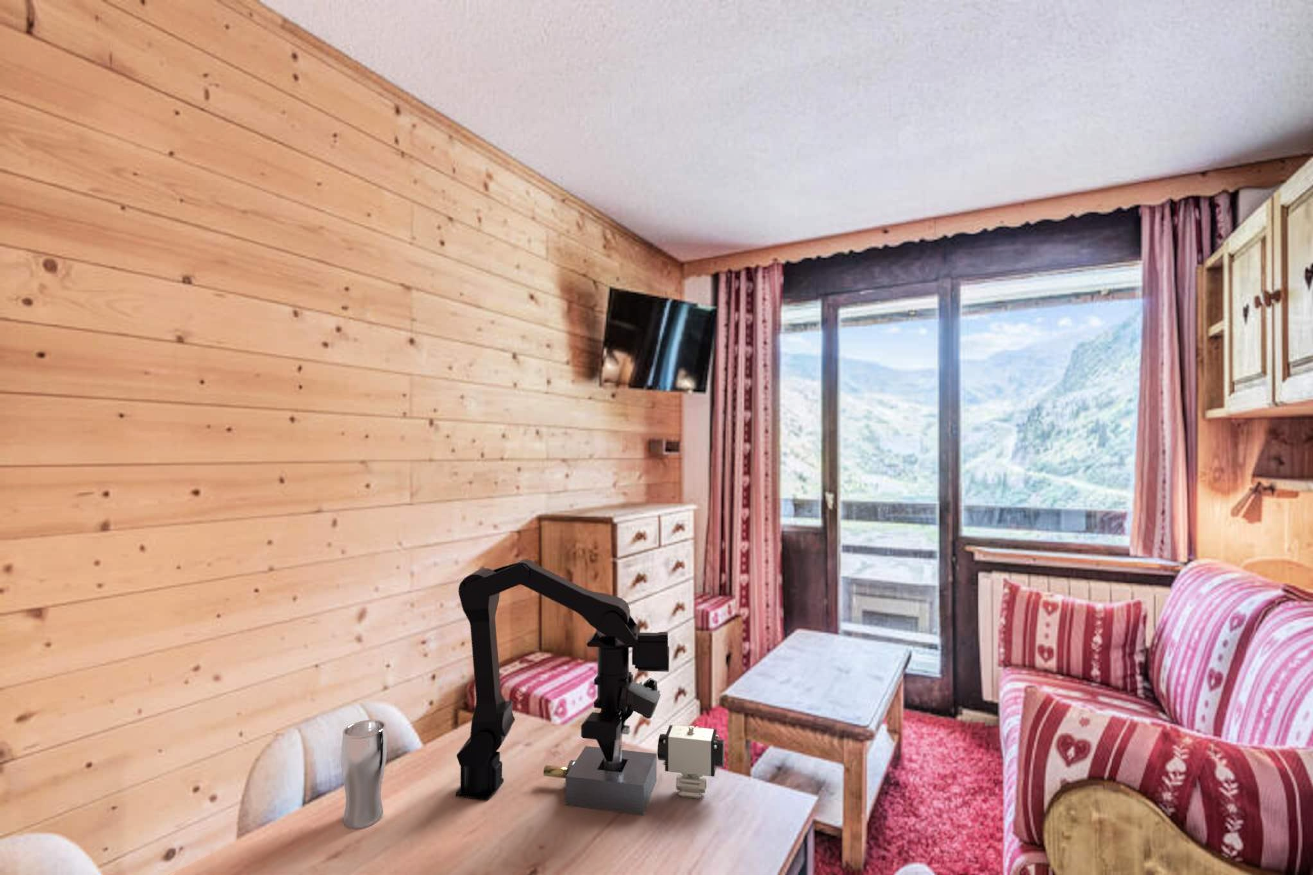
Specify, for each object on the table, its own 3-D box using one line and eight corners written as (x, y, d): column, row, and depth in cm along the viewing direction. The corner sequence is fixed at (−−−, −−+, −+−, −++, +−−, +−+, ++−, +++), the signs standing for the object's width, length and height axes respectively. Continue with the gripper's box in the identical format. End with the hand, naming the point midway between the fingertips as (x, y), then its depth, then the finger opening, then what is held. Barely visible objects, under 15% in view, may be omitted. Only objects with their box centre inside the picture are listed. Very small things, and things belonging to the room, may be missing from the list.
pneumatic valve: (722, 804, 106) (722, 735, 106) (656, 796, 108) (657, 729, 108) (725, 787, 111) (725, 721, 111) (662, 780, 113) (663, 716, 114)
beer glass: (330, 825, 99) (331, 733, 100) (363, 802, 106) (365, 716, 106) (362, 834, 97) (364, 740, 97) (395, 810, 103) (396, 722, 104)
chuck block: (533, 800, 106) (533, 772, 107) (555, 768, 117) (556, 742, 117) (643, 815, 102) (643, 785, 103) (656, 780, 113) (656, 753, 113)
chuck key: (594, 778, 108) (594, 727, 109) (599, 769, 111) (599, 719, 112) (626, 782, 107) (626, 731, 107) (630, 773, 110) (631, 723, 110)
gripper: (645, 693, 99) (644, 790, 99) (666, 656, 117) (665, 737, 117) (580, 688, 101) (579, 782, 101) (610, 651, 119) (610, 731, 119)
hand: (612, 756), depth 109 cm, fingers closed on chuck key, 3 cm apart
